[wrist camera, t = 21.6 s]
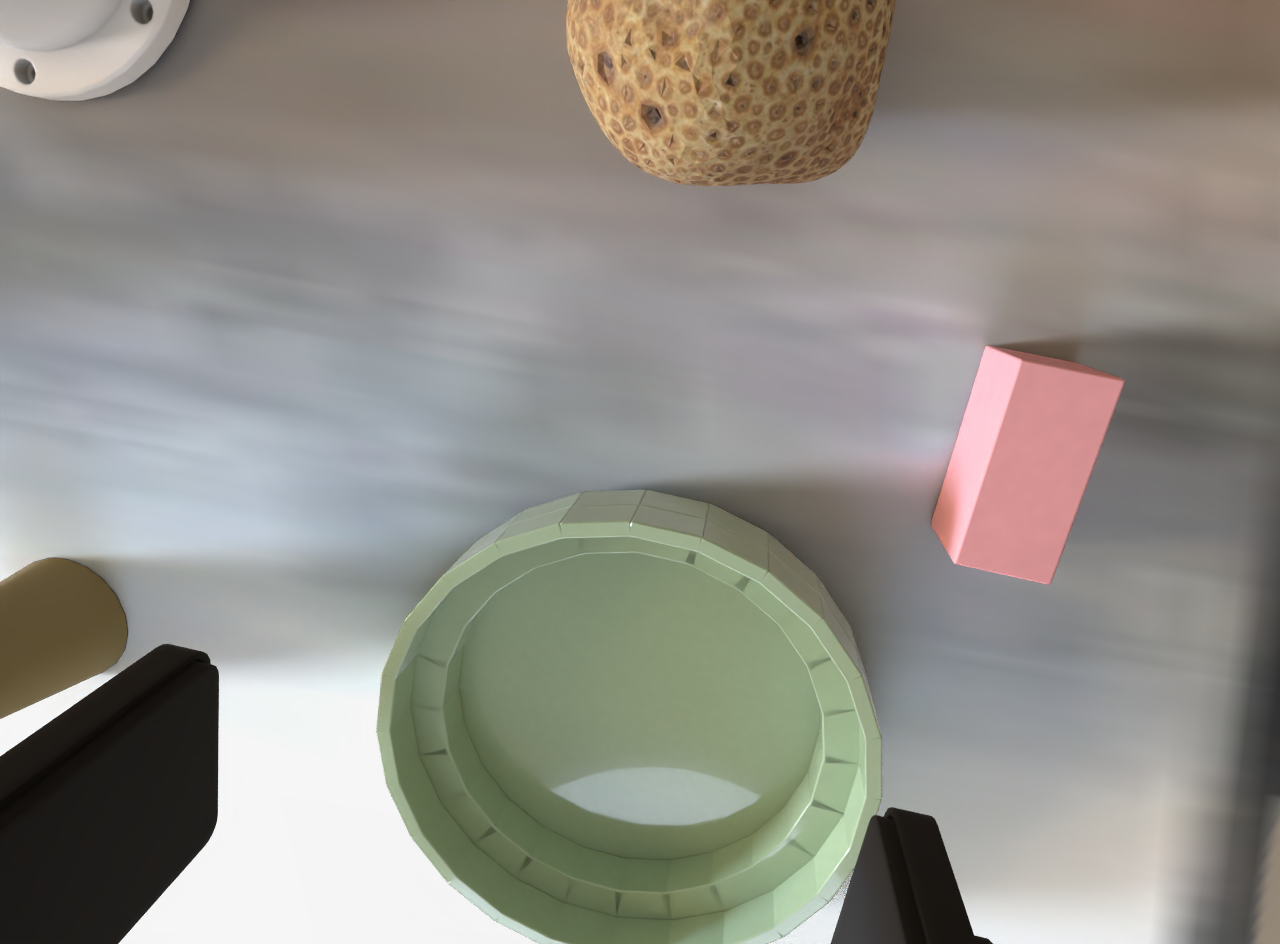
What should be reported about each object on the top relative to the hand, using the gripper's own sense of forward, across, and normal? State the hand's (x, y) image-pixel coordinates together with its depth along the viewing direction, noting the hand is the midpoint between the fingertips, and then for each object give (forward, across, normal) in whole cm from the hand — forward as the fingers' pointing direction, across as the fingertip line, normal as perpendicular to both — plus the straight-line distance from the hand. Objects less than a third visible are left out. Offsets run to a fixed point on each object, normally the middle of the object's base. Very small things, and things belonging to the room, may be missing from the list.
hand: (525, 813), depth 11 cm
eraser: (+21, -12, -2) cm, 24 cm away
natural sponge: (+21, 0, -14) cm, 25 cm away
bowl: (+21, -1, +12) cm, 24 cm away
